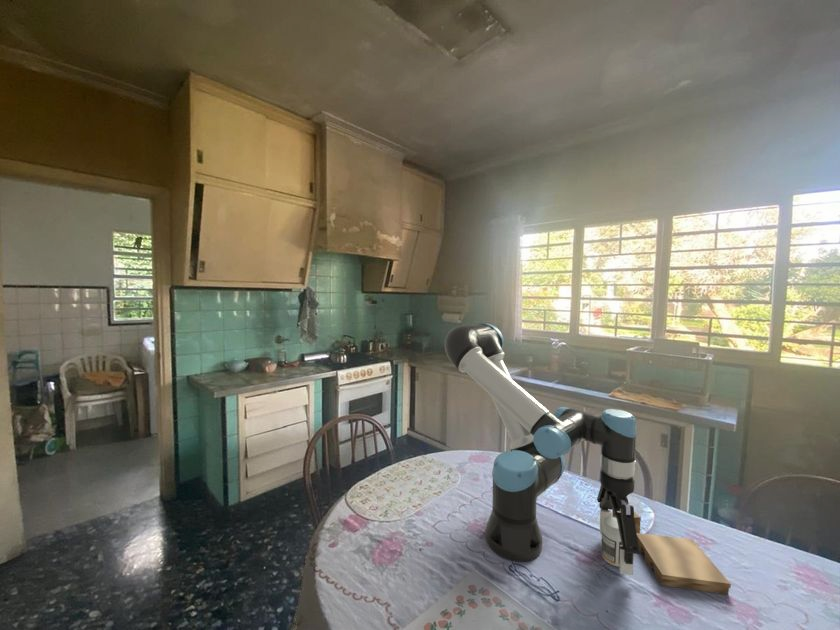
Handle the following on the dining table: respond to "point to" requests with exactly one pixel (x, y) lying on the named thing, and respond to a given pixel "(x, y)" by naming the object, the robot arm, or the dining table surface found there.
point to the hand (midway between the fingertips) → (614, 551)
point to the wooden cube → (637, 521)
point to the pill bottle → (611, 541)
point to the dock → (681, 564)
